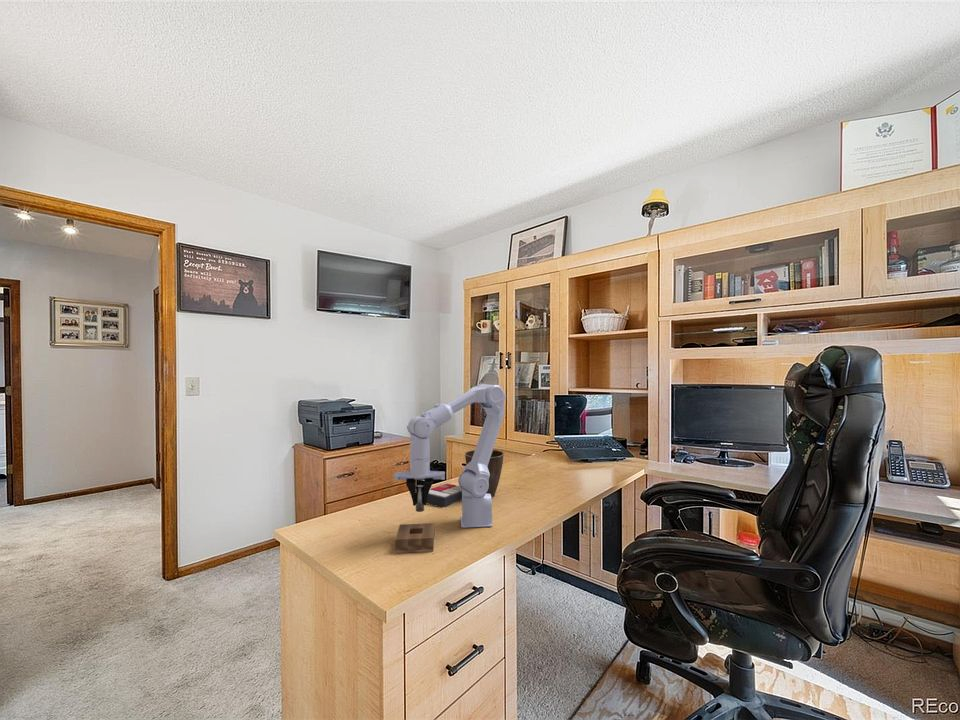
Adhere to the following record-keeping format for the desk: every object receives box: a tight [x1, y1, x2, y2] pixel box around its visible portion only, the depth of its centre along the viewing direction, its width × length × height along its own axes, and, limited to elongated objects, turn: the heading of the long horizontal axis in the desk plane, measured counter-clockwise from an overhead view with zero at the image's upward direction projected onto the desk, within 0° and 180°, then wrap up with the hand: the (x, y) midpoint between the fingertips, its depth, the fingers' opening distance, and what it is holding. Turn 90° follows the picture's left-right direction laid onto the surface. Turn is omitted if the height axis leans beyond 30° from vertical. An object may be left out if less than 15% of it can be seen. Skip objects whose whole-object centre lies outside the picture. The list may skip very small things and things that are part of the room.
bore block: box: [394, 522, 436, 554], centre depth 110 cm, size 10×10×4 cm
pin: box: [415, 484, 425, 513], centre depth 115 cm, size 2×2×7 cm
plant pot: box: [464, 449, 505, 498], centre depth 150 cm, size 15×15×16 cm
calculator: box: [426, 483, 462, 508], centre depth 147 cm, size 11×4×15 cm
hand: (419, 504), depth 115 cm, fingers closed on pin, 2 cm apart
